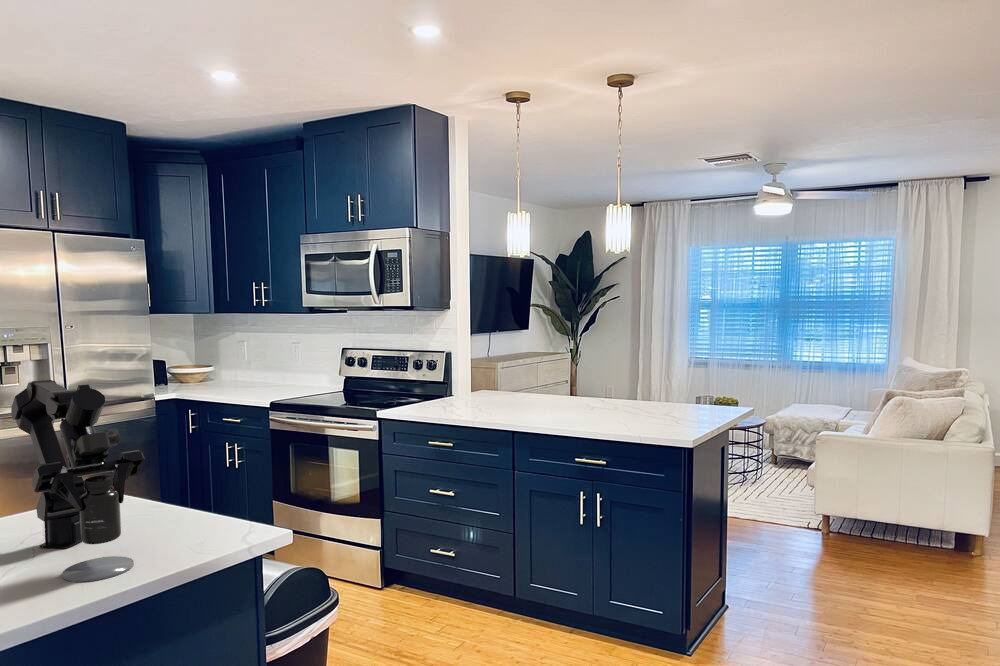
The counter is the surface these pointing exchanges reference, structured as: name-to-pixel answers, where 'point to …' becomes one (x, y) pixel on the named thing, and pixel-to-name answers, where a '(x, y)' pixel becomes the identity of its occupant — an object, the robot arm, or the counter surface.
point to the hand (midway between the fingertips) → (102, 506)
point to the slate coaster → (98, 568)
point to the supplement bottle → (100, 511)
